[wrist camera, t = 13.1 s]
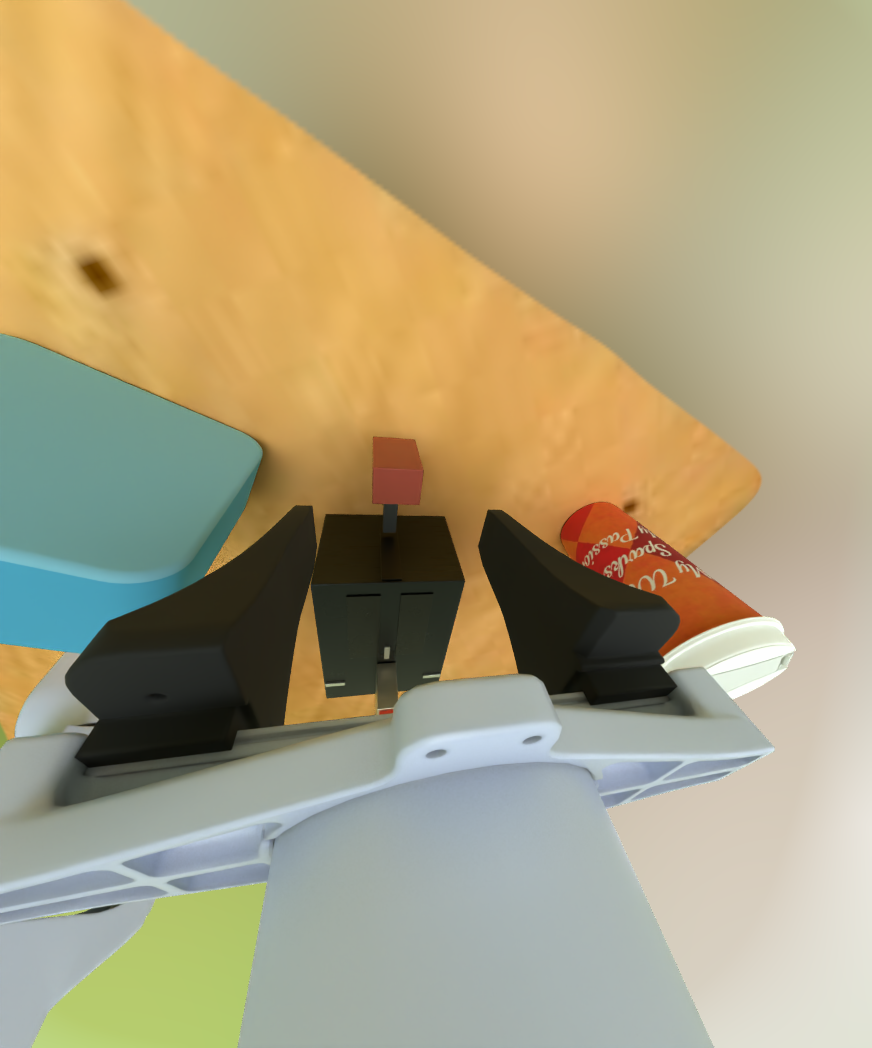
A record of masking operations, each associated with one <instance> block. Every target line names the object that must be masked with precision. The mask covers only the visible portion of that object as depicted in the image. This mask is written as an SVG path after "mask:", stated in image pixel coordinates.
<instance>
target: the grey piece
mask: <svg viewBox="0 0 872 1048" xmlns="http://www.w3.org/2000/svg"><path fill="white" fill-rule="evenodd" d="M397 701H398V689H397V673H396V663H383V664H377V669H376V685H375V715H381V714H390V713H393V708H394V706H395V704H396V703H397Z"/></svg>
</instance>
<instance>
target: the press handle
mask: <svg viewBox="0 0 872 1048" xmlns="http://www.w3.org/2000/svg"><path fill="white" fill-rule="evenodd" d="M423 472H424V471H423V467H422V463H421V460H420V456H419V453H418V449H417V446H416V442H415V440H413V439H399V438H385V437H373V476H372V503H373V504H384V508H383V533H396V524H397V510H398V504H405V505H419V504H420V496H421V488H422V480H423Z"/></svg>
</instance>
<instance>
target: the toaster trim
mask: <svg viewBox="0 0 872 1048" xmlns="http://www.w3.org/2000/svg"><path fill="white" fill-rule="evenodd" d="M380 546H381V580H402V574H401V564H400V554H399V544H398V534H397V527H396V533H383V527H380ZM432 599H433V593H422V594H401V599H400V609H399V619H398V629H397V639H396V649H395V655H405V654H419V653H423V647H424V642H425V637H426V631H427V626H428V621H429V615H430V610H431V605H432ZM346 602H347V623H348V643H349V659H350V658H364V657H378V650H379V628H380V607H381V595H360V596H346Z"/></svg>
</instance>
